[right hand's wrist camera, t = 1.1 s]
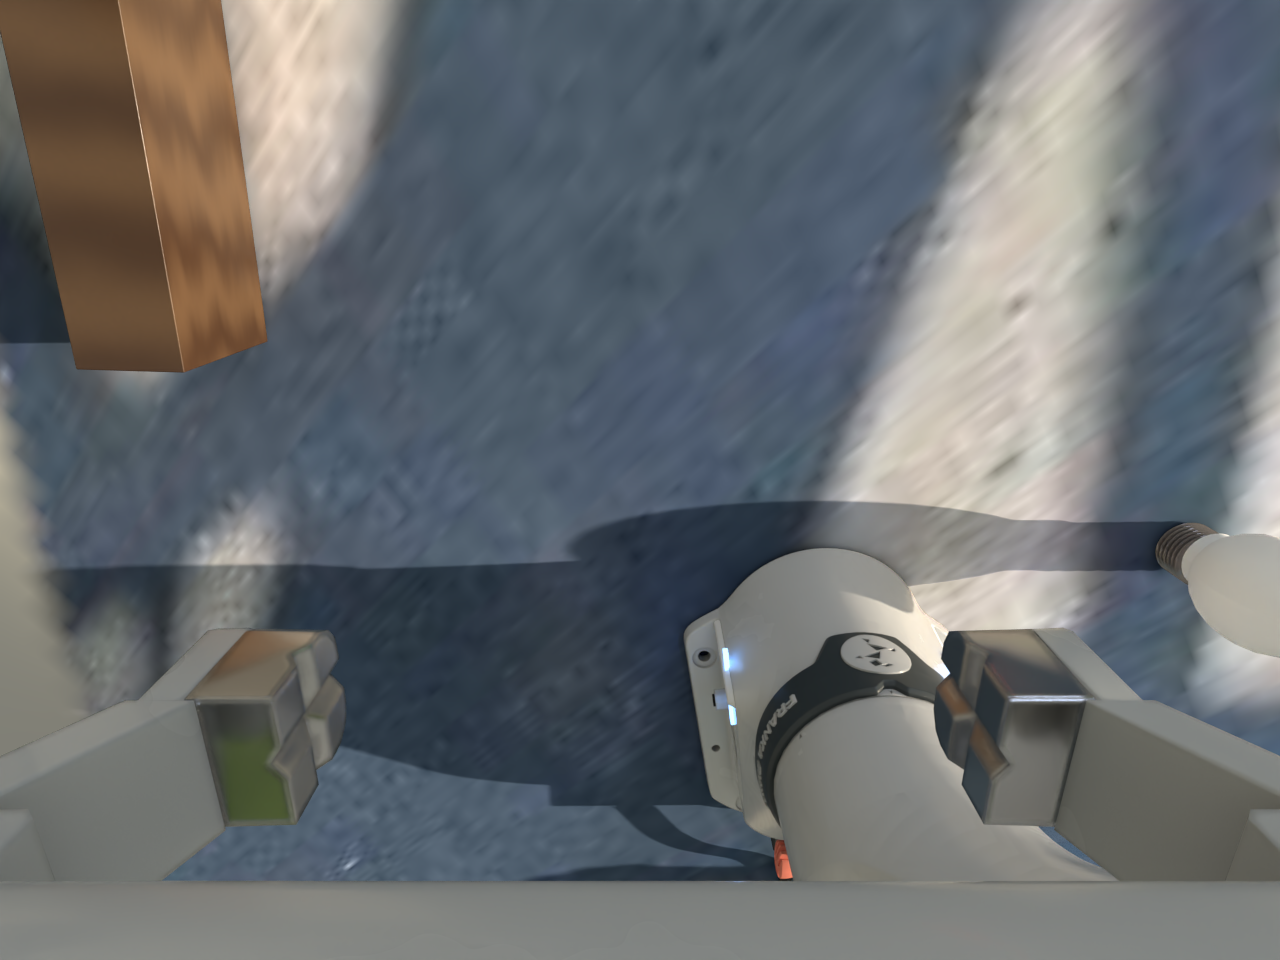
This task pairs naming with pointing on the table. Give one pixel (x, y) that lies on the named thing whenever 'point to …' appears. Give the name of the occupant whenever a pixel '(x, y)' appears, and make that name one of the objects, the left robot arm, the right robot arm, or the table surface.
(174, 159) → the bar
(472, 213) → the table surface
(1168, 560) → the light bulb
